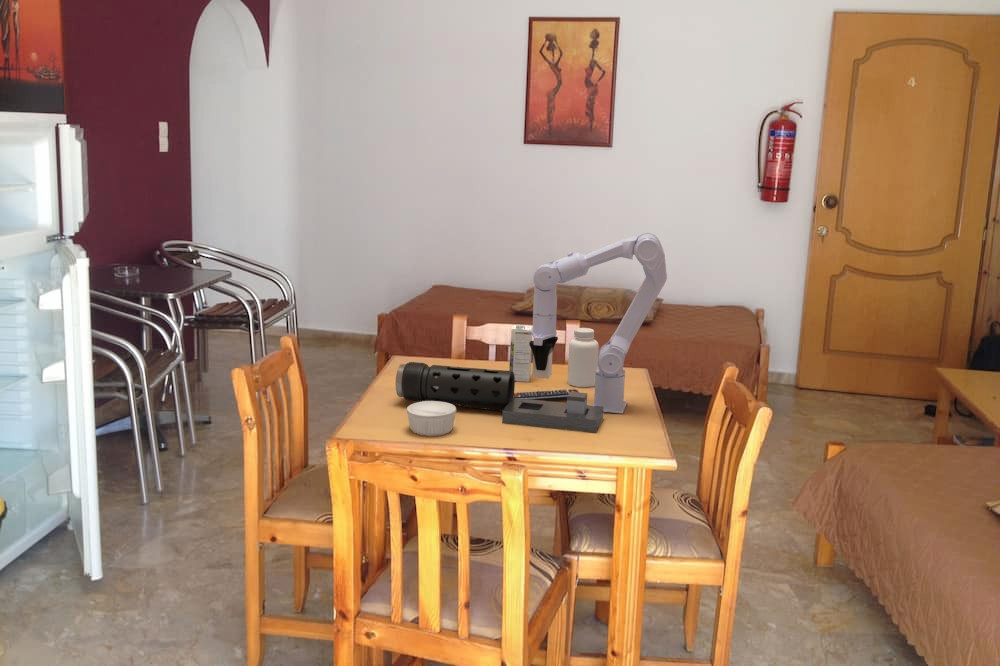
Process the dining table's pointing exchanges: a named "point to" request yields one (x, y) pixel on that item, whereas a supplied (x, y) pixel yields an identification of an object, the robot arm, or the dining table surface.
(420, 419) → the ramekin
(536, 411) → the block
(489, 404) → the muzzle brake
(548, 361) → the plug
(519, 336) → the syrup box
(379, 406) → the dining table surface
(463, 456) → the dining table surface
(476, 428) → the dining table surface
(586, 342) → the pill bottle
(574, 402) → the twin plug
